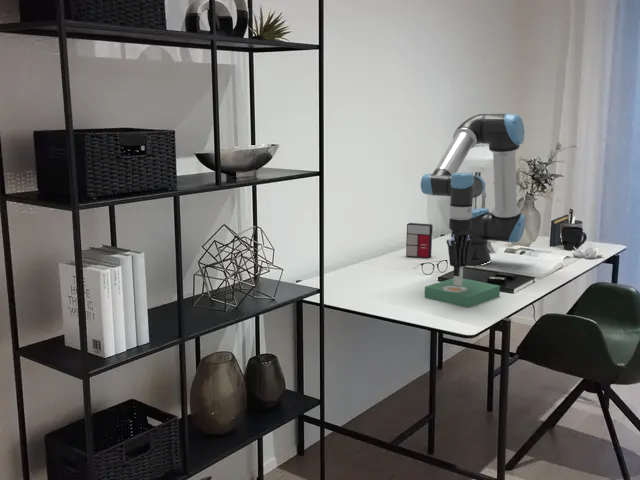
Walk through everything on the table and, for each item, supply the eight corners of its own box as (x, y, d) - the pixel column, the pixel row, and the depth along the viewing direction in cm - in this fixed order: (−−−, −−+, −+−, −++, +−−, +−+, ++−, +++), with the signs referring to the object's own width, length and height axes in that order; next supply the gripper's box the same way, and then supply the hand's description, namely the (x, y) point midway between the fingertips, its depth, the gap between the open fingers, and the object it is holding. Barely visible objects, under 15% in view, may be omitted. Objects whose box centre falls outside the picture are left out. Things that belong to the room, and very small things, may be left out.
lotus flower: (604, 267, 281) (605, 247, 279) (566, 264, 287) (568, 244, 285) (604, 260, 294) (606, 241, 292) (568, 257, 300) (569, 238, 298)
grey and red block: (405, 256, 301) (406, 224, 298) (408, 254, 305) (408, 222, 302) (429, 258, 296) (430, 225, 294) (431, 256, 300) (432, 224, 298)
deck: (424, 297, 235) (424, 286, 234) (456, 287, 248) (456, 276, 248) (468, 308, 222) (468, 296, 221) (499, 296, 236) (499, 285, 235)
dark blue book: (552, 251, 313) (555, 219, 310) (548, 250, 314) (551, 219, 311) (568, 245, 328) (571, 214, 325) (564, 244, 329) (567, 214, 326)
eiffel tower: (465, 249, 317) (468, 187, 311) (493, 250, 315) (497, 187, 309) (467, 255, 304) (470, 190, 298) (497, 256, 302) (500, 191, 296)
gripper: (459, 221, 221) (456, 290, 225) (480, 217, 230) (477, 283, 234) (440, 218, 226) (438, 286, 230) (461, 214, 235) (459, 279, 239)
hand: (457, 284), depth 232 cm, fingers closed
